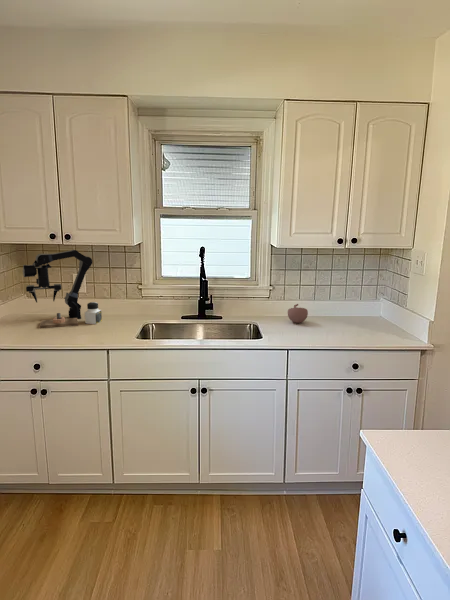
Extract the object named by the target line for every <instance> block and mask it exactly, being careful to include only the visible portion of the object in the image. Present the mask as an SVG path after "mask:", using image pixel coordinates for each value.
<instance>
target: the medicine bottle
mask: <svg viewBox="0 0 450 600" xmlns="http://www.w3.org/2000/svg"><path fill="white" fill-rule="evenodd" d="M86 305H87V306H86V307H87V309H86V311H84V323H85V324H88V325H98V324H100V323H101V322H102V321H103V318H102V317H103V316H102V314H103V313H102V309H99V303H98V302H96V301H91V302H88V303H87V304H86Z"/></svg>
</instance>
